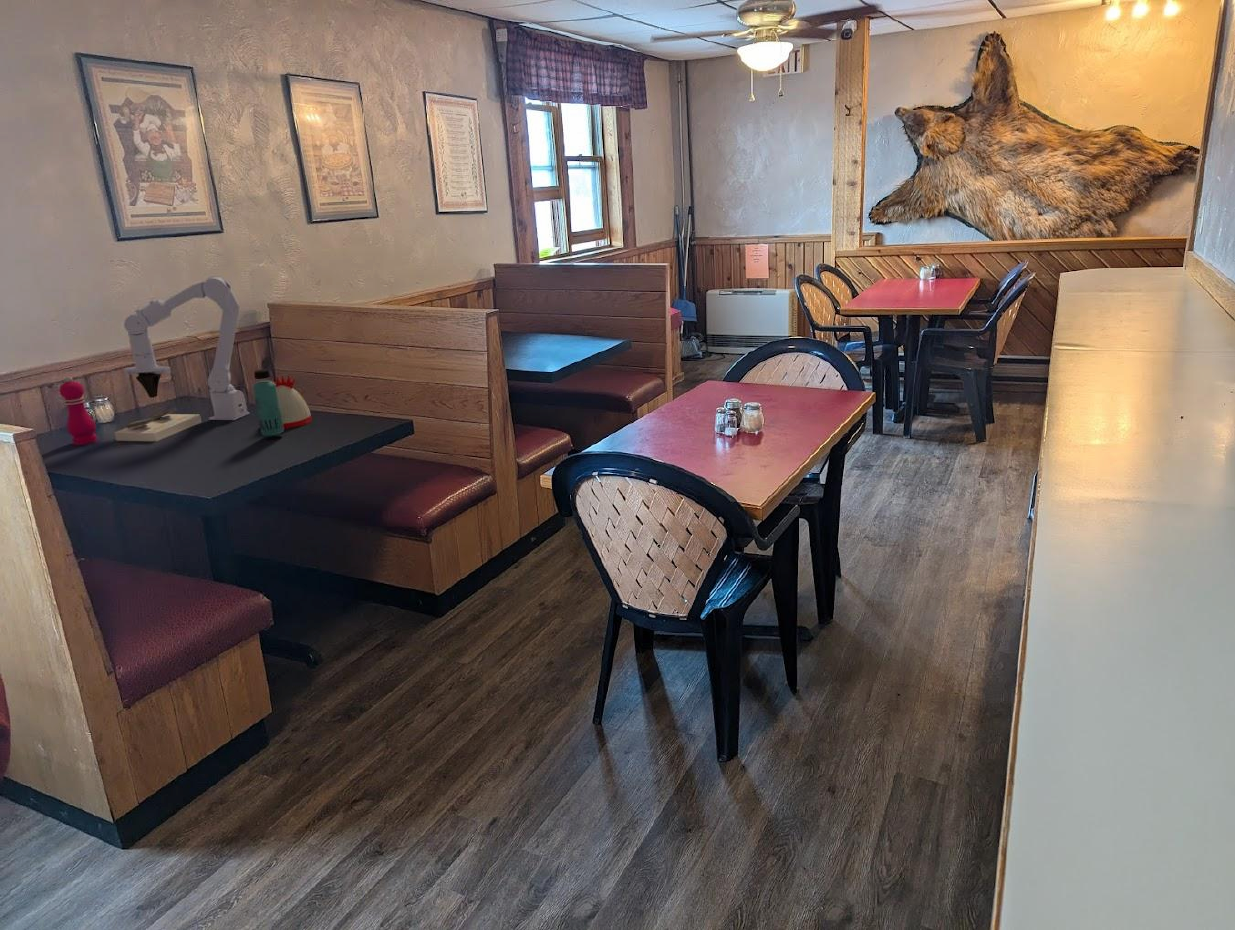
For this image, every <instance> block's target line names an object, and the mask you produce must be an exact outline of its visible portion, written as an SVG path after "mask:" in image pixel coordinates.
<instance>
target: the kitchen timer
mask: <svg viewBox="0 0 1235 930" xmlns="http://www.w3.org/2000/svg"><path fill="white" fill-rule="evenodd" d="M287 375H288V376H287V380H285V378H284V376H283V374H281V381H280V378H279V377H278V375H275V376H276V377H275V378H276V379H275V381H274V380H273V379H271V380H270V381H272V382H274V383H275V384H276V390H277V395H278V401H279V406H280V410H281V416H282V422H283V425H284V426H283V427H284V430H285V429H292V428H296V427H301V426H304V425H306V424H307V425H308V424H309V423H310V422H311V421H312V414H311V411H310V409H309V405H308V404H307V403H306V401H305V397H304V396H302V395H301V394H300V392H298V391H297V390H296V389H294V387H293V386H294V384H295V380H296V377H294V378H293V379H292V381H291V379H290V378H291V377H290V374H287Z"/></svg>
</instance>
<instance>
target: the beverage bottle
mask: <svg viewBox="0 0 1235 930" xmlns="http://www.w3.org/2000/svg"><path fill="white" fill-rule="evenodd" d="M253 373H254V374H253V375H254V379H255V380H260V381H257V382H255V383H253V385H252V390H253V396H254V404H255V407H256V412H257V417H258V424H259V425H258V426H259V427H260V433H261V434H262V435H263V436H275V435H279V434H282V433H284V430H285V429H284V427H283V426H284V425H283V422H282V416H281V410H280V406H279V401H278V395H277V390H276V384H275V383H276V382H275V381H274V382H275V383H274V382H272V381H271V380H269V379H268V378H271V373H270V370H269V369H265V368H263V369H257V370H255V371H254V372H253ZM263 379H267V380H263Z"/></svg>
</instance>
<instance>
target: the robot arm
mask: <svg viewBox="0 0 1235 930" xmlns="http://www.w3.org/2000/svg"><path fill="white" fill-rule="evenodd" d="M206 297H208V299H210V300H212V301H213V302H215V303H216V305H218V306H219V308H220V309H221V310H222V314H221V320H220V321H221V322H220V328H219V332H218V339H217V344H216V352H215V355H214V362H213V366H212V369H211V370H210V372H209V376H208V378H207V385H208V386H209V388H210V389H209V390H208V391H209V395H210V401H211V405H212V409H213V415H214V416H211V417H209V418H208V420H209V421H211V420H212V421H215V420H216V421H236V420H238V419H240V418H242V417H245V416H248V415H249V414H250V412H249V411H248V407H247V403H246V398H245V394H244V392H243V391H242V390H237V389H236V388H235V387H234V385H232V384H231V380H232V374H231V371H230V366H231V359H232V354H233V350H234V349H233V348H234V342H235V337H236V330H237V325H238V318H239V314H240V313H239V312H240V303H239V301H238V300H237V297H236V296H235V293H234V291H233V289H232V286H231V285H230V284H229V283H228V282H227V281H226V279H224V277H221V276H219V275H212V276H210V277H208V278H207V279H202V280H200V281H198V282H195V283H192V284H191V285H190V286H188V287H186V288H184V289H183V290H181V291H179V292H178V293H176V294H174V295H173V296H171V297H169V298H168V299H166V300H162V299H157V300H155V299H153V300H150V301H149V304H148V305H146V306H144V307H143V308H140V309H139V308H138V309H136V310H135V313H132V314H129V316H127V317H126V318H125V319H124V323H123V324H124V326H123V327H124V328H125V329H124V330H126V332H127V334H128V337H129V344H130V348H131V352H132V358H133V362H134V366H132V367H131V366H130V367H129V366H128V367H125V368H123V373H124V375H125V376H128V375H137V376H136V377H135V379H136V380H137V382H139V383H140V384H141V386H142V387H143V388H144V391H145V392H146V393H147V395H148V397H149V398H150V399H151V398H153V399H154V398H157V397H158V388H159V383H160V378H161V376H162V375H163V374H164V375H169V374H172V371H171V367H170V366H161V365H158V364H157V360H156V357H155V352H154V347H153V344H152V339H151V337H150V333H149V329H148V328H149V327H155V325H157V324H159V323H160V322H163V321H164V320H166V319H168V318H169V317H171V315H172V310H174V309H176V308H177V307H180V306H181V305H184V304H185V303H187V302H189V301H191V300H193V299H205V298H206Z"/></svg>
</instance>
